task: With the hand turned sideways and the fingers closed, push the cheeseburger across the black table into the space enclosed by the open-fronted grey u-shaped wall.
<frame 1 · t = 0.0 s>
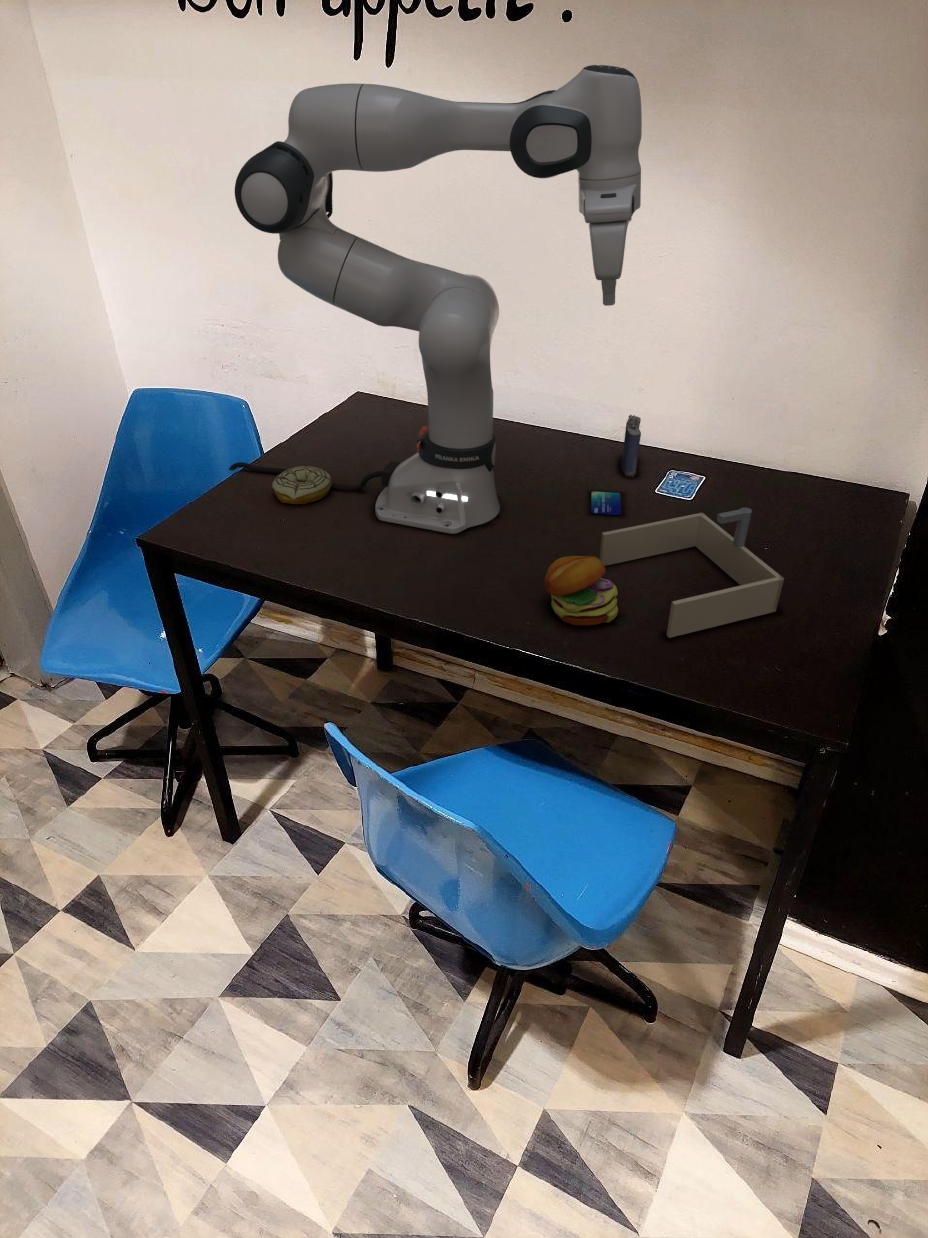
hand: (609, 295, 135), 39 cm above the table, tool pointing down, fingers open, 8 cm apart
cheeseburger: (579, 612, 135), on the table
grey u-shaped wall: (681, 587, 140), on the table
flask: (628, 468, 175), on the table
decorated donut: (303, 494, 165), on the table
credit card: (605, 504, 162), on the table
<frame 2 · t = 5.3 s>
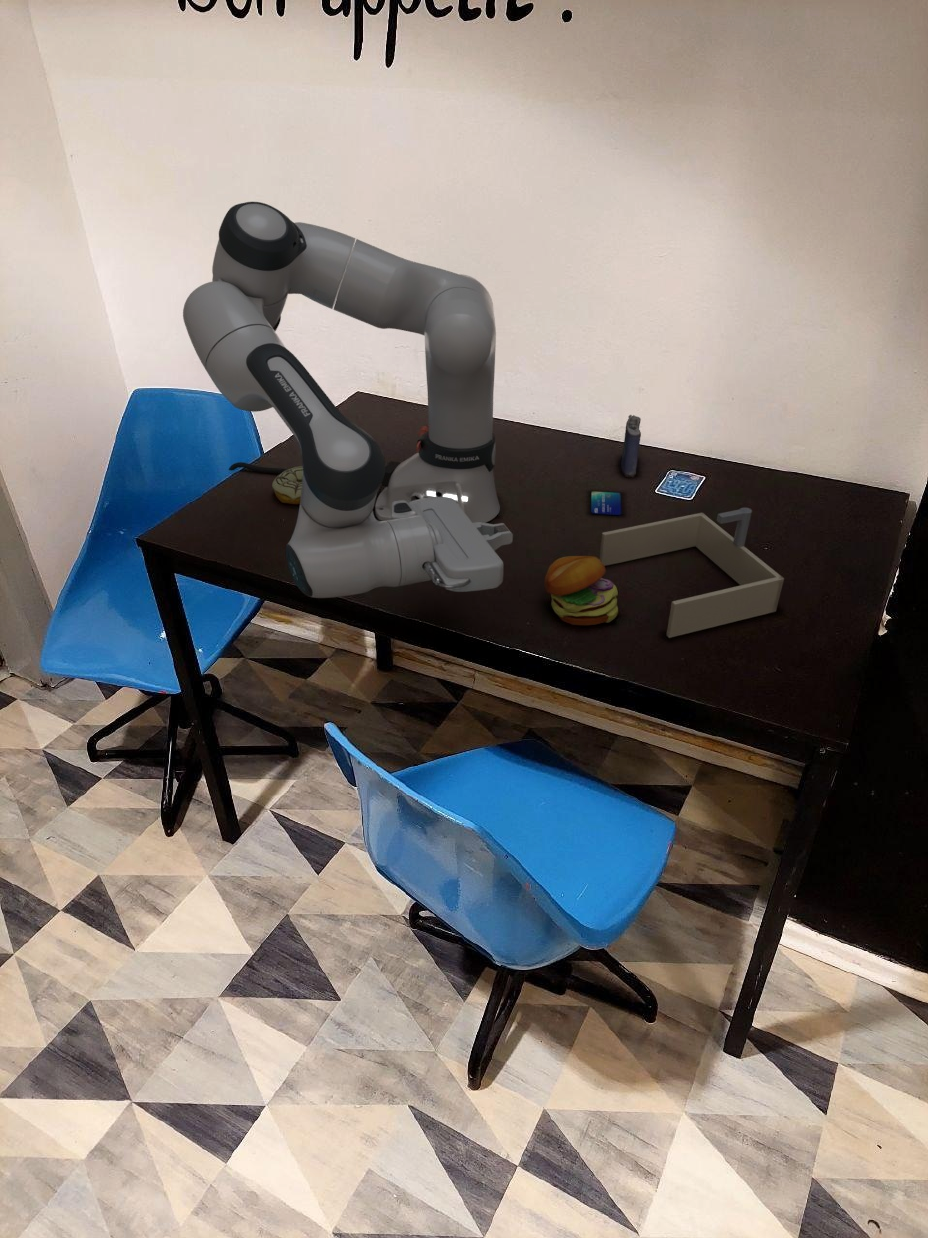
hand: (508, 532, 121), 16 cm above the table, tool horizontal, fingers closed
nothing on the table moved.
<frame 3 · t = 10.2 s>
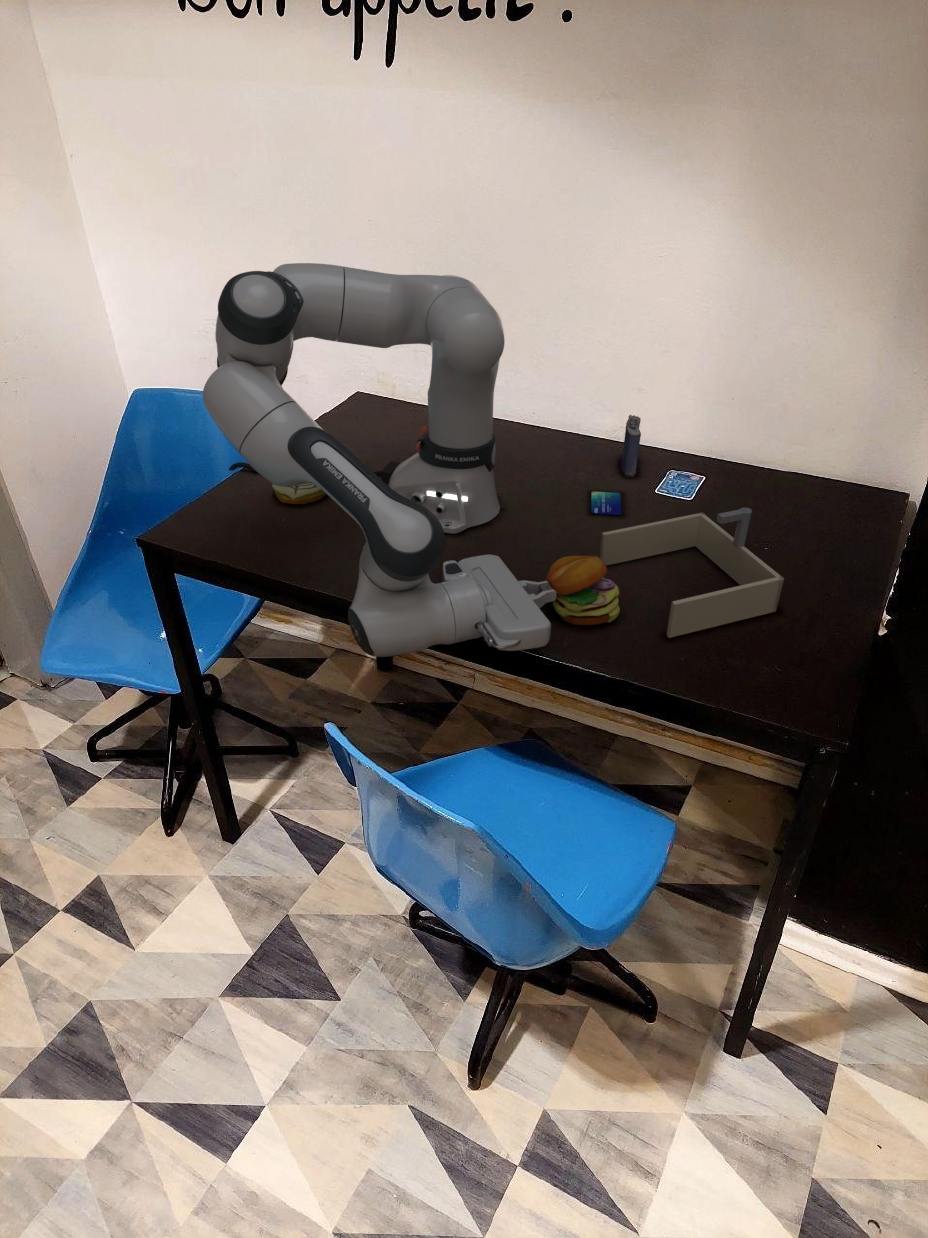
hand: (552, 590, 130), 5 cm above the table, tool horizontal, fingers closed
cheeseburger: (581, 611, 135), on the table, touching gripper
everything else where it was.
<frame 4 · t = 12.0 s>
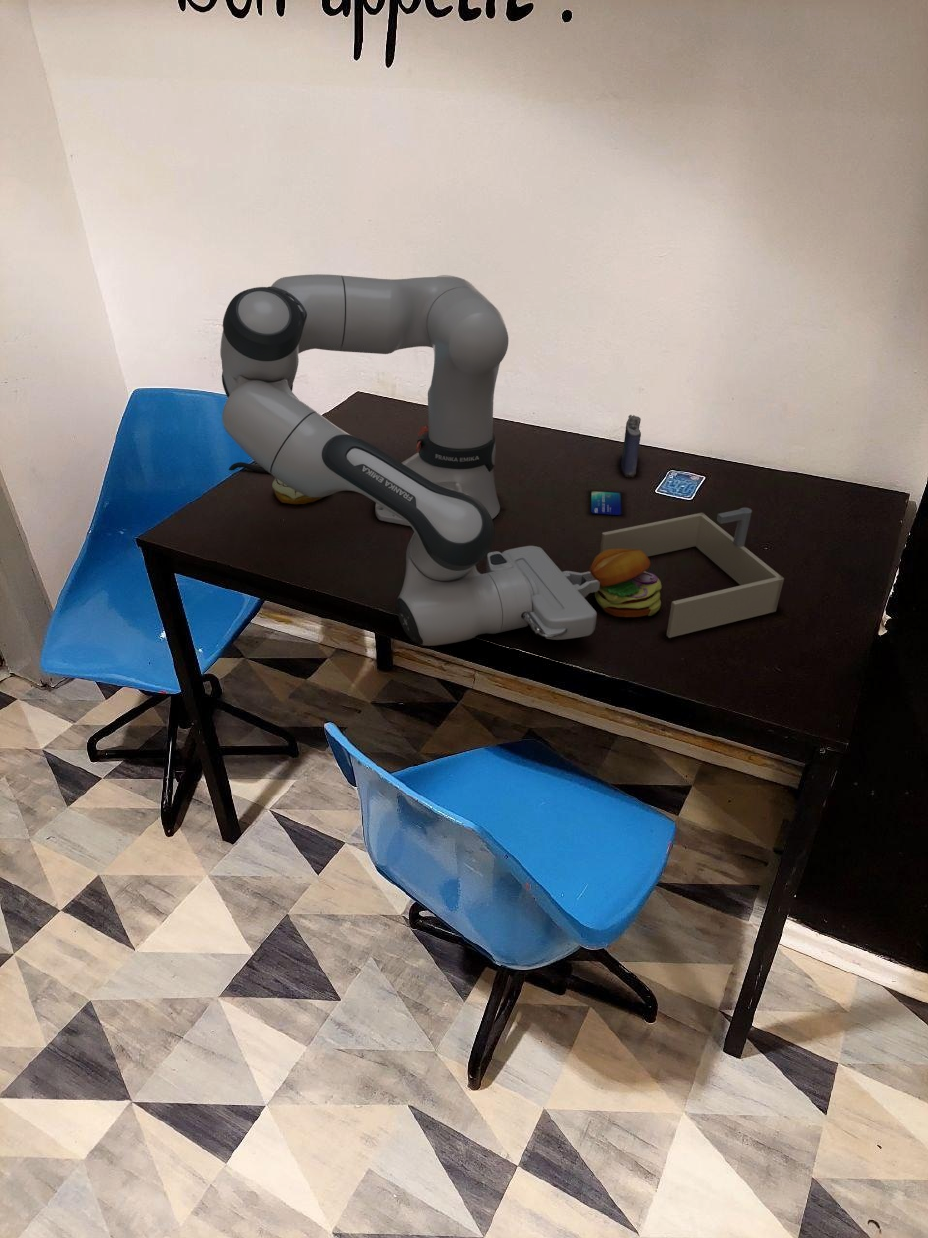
hand: (595, 580, 132), 5 cm above the table, tool horizontal, fingers closed
cheeseburger: (622, 604, 136), on the table, touching gripper
everything else where it was.
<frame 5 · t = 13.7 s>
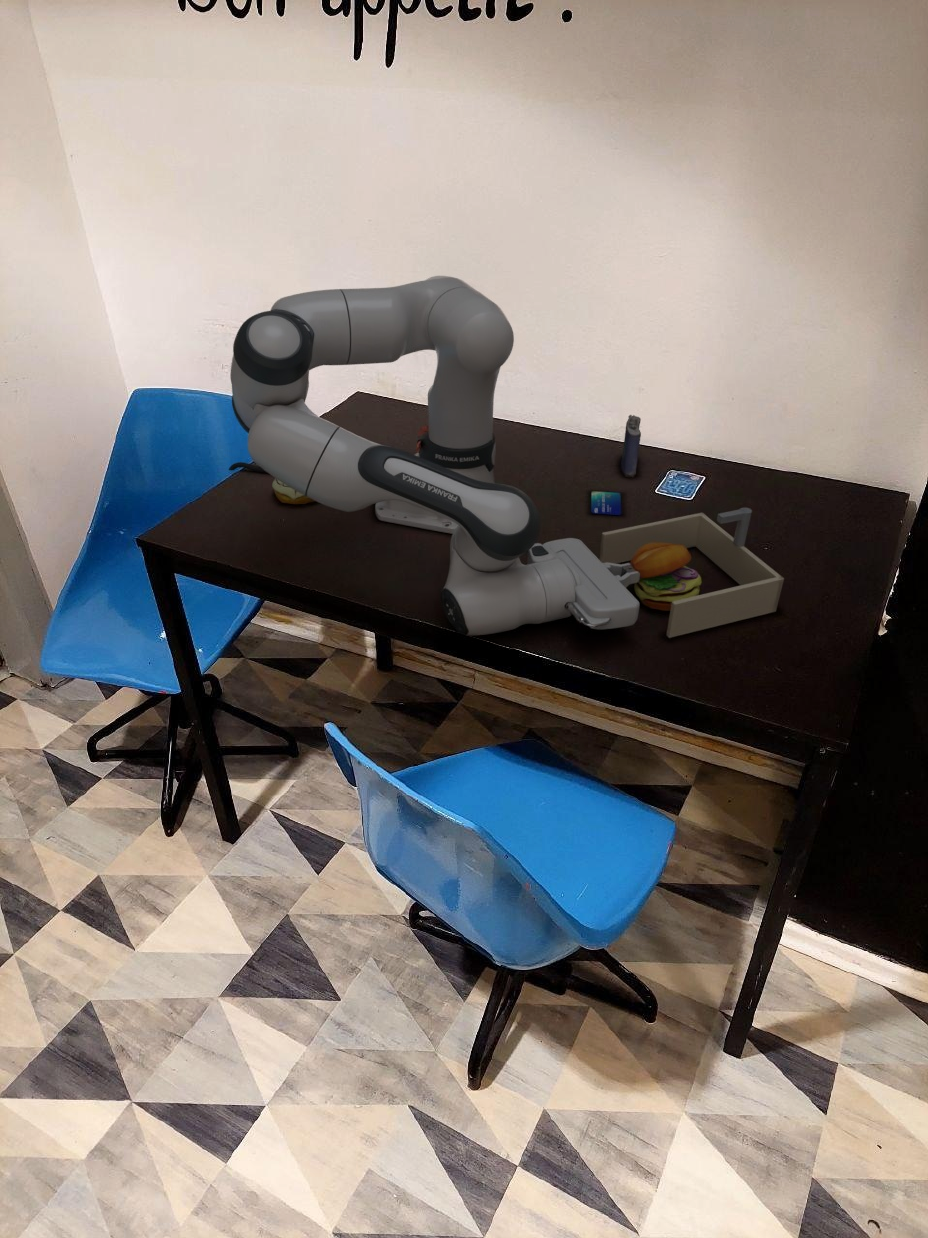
hand: (634, 572, 134), 5 cm above the table, tool horizontal, fingers closed, pressing on cheeseburger
cheeseburger: (661, 598, 138), on the table, touching gripper
everything else where it was.
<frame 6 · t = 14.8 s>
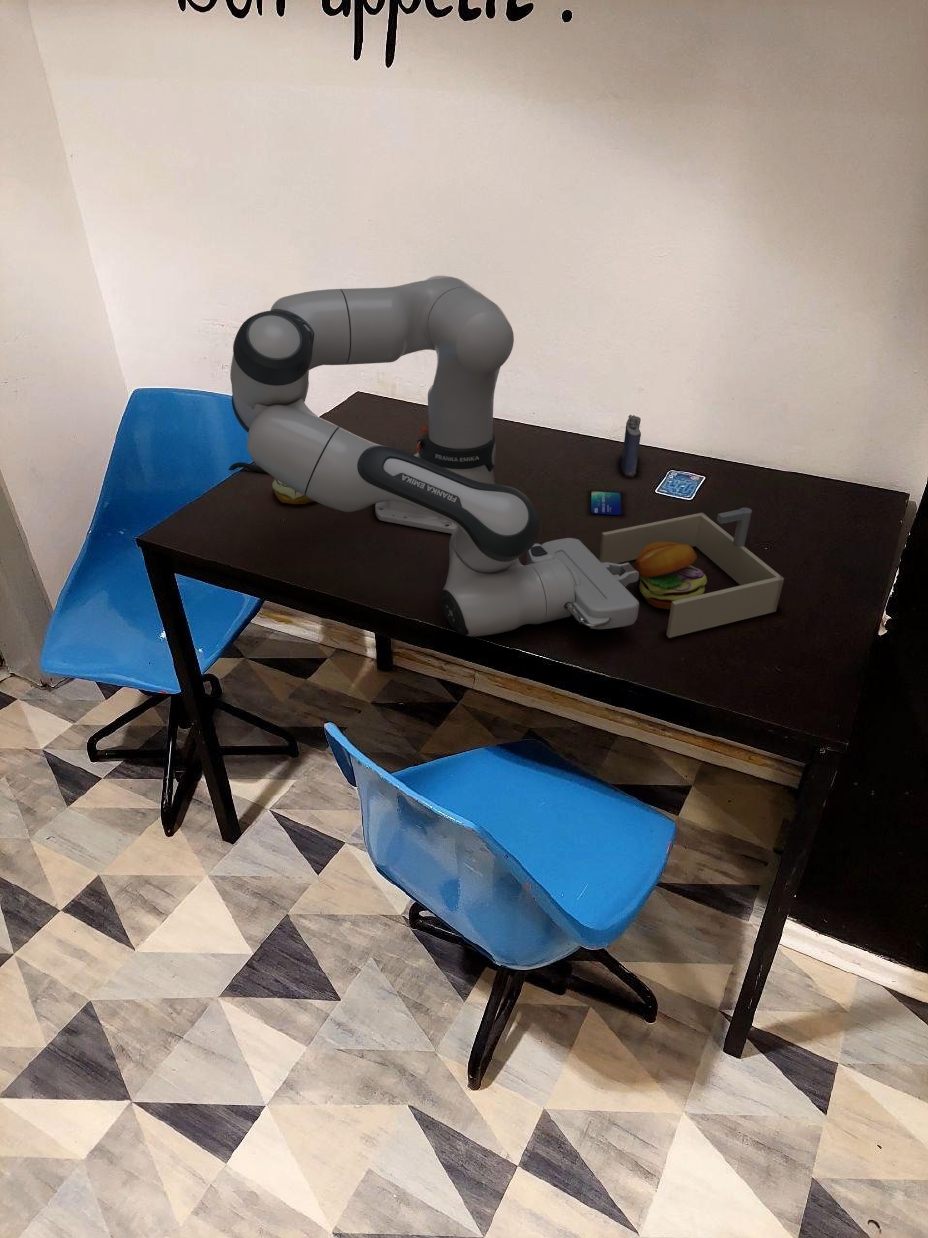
hand: (633, 571, 134), 5 cm above the table, tool horizontal, fingers closed
cheeseburger: (667, 597, 138), on the table
everything else where it was.
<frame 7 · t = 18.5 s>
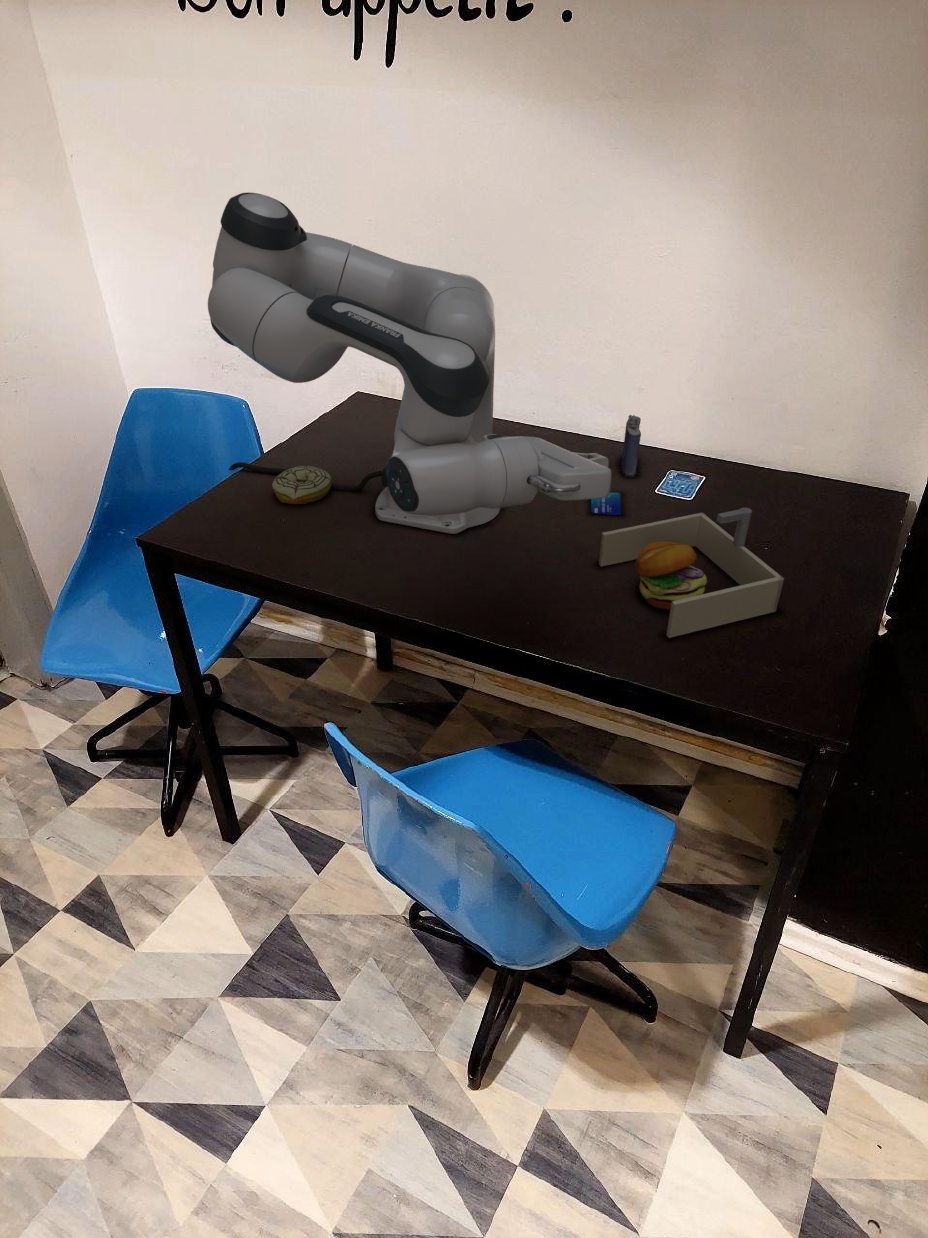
hand: (602, 461, 120), 25 cm above the table, tool horizontal, fingers closed
nothing on the table moved.
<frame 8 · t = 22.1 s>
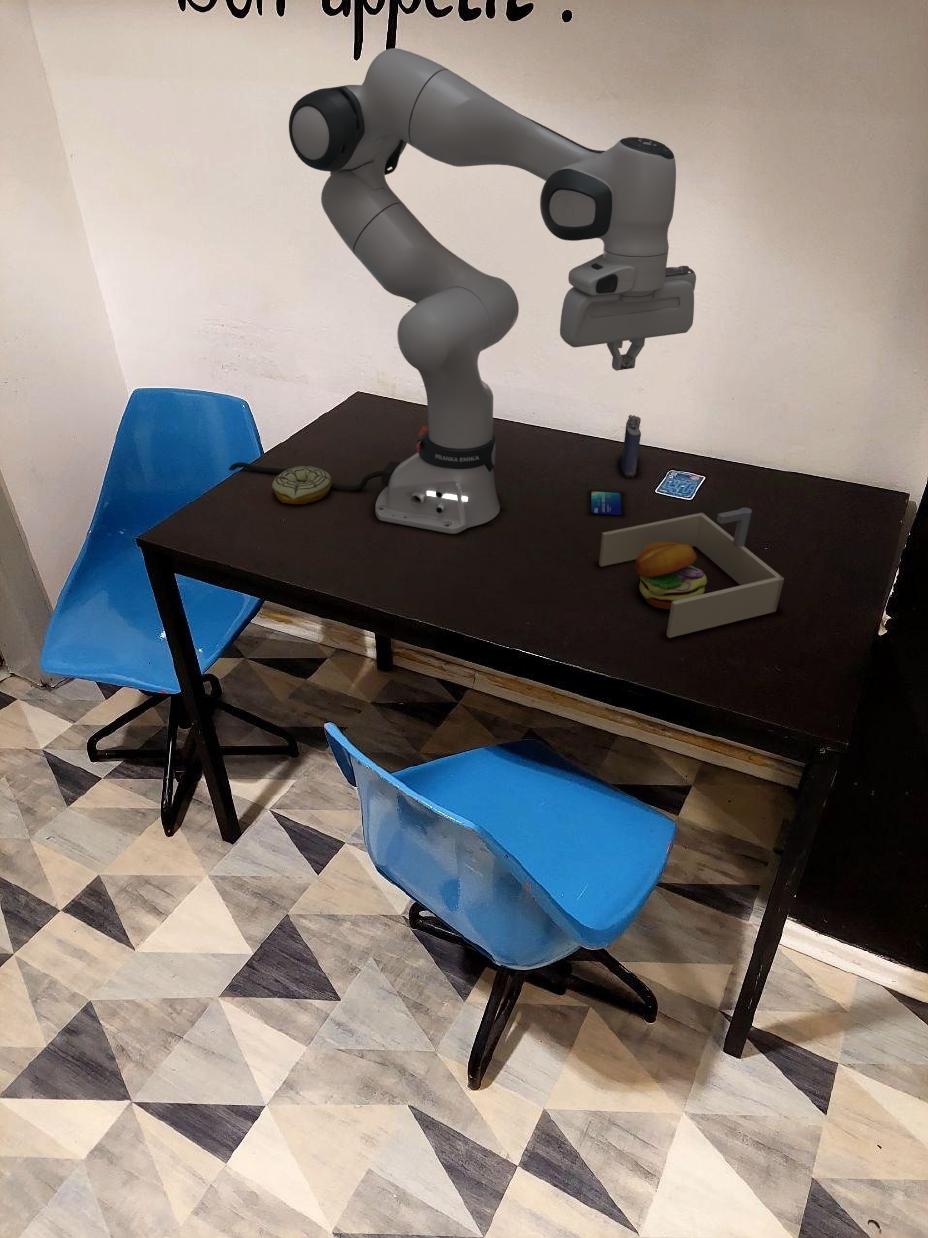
hand: (623, 368, 131), 31 cm above the table, tool pointing down, fingers closed
nothing on the table moved.
at the end: cheeseburger 3.6 cm from the grey u-shaped wall (horizontally); cheeseburger moved 14.7 cm from its start; cheeseburger tilted 0° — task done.
